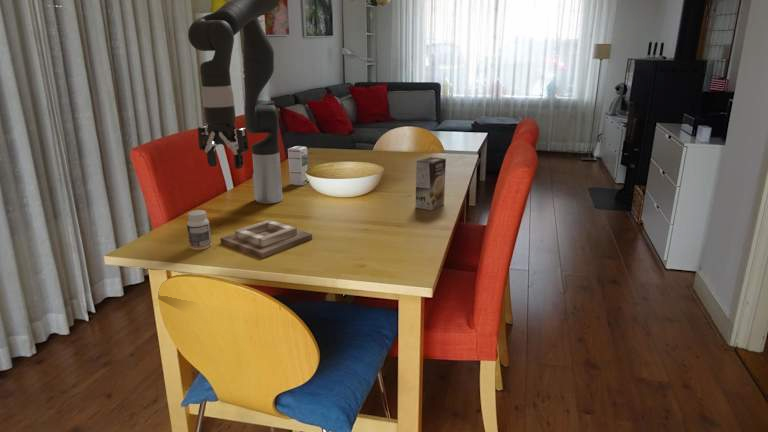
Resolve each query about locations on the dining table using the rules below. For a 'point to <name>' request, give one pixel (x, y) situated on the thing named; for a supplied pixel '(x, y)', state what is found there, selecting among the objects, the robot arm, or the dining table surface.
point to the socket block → (266, 238)
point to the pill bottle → (198, 230)
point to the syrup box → (298, 165)
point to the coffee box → (430, 183)
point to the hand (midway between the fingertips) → (225, 167)
